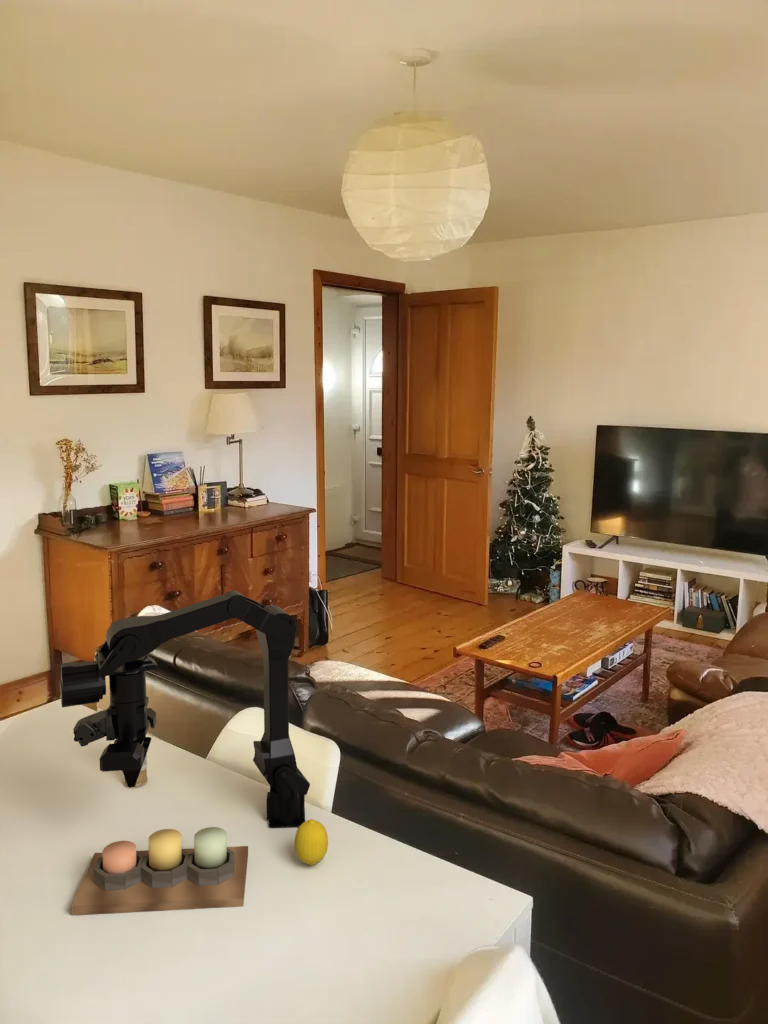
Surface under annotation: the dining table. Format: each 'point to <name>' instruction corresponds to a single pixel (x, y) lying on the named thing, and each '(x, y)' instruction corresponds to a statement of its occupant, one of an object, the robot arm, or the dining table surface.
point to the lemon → (311, 842)
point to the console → (163, 885)
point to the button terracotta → (119, 857)
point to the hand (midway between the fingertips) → (131, 786)
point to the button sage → (210, 847)
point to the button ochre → (165, 849)
